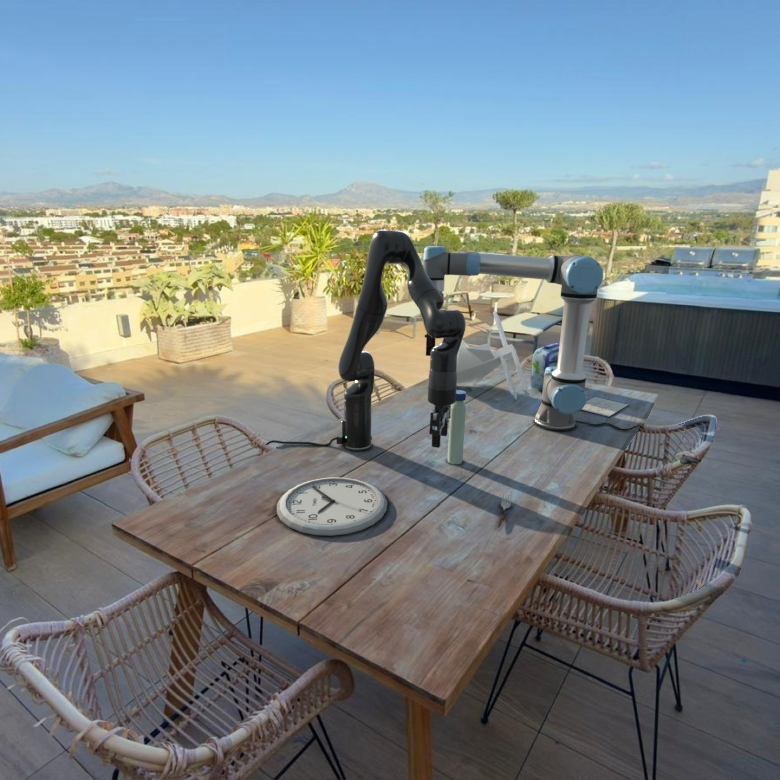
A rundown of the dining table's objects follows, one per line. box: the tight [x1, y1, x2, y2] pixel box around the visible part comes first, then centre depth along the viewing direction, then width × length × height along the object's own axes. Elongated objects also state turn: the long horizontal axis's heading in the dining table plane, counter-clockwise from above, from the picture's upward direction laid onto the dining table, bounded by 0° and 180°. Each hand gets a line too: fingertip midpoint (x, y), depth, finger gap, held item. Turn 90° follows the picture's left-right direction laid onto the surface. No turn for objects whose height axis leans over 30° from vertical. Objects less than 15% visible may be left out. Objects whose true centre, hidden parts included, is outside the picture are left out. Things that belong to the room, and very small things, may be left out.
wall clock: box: [276, 476, 388, 537], centre depth 142 cm, size 30×2×30 cm
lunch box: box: [530, 342, 560, 391], centre depth 250 cm, size 26×11×21 cm, turn 134°
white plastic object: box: [456, 310, 531, 400], centre depth 245 cm, size 37×45×31 cm
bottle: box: [447, 401, 467, 465], centre depth 168 cm, size 5×5×23 cm
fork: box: [497, 493, 513, 528], centre depth 139 cm, size 3×16×2 cm, turn 160°
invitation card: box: [580, 396, 629, 418], centre depth 226 cm, size 21×1×15 cm
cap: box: [456, 389, 467, 402], centre depth 164 cm, size 4×4×2 cm
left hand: (439, 441), depth 144 cm, fingers open, 8 cm apart
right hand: (430, 351), depth 189 cm, fingers open, 13 cm apart
